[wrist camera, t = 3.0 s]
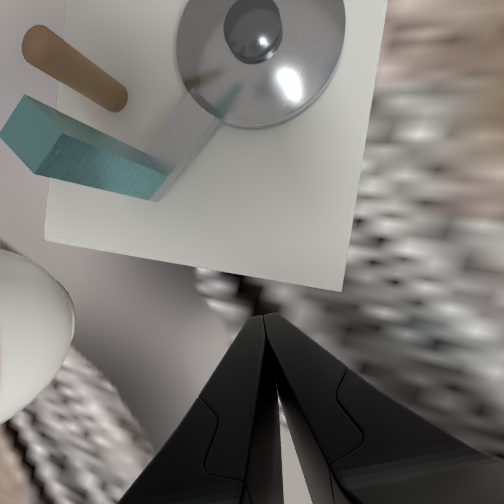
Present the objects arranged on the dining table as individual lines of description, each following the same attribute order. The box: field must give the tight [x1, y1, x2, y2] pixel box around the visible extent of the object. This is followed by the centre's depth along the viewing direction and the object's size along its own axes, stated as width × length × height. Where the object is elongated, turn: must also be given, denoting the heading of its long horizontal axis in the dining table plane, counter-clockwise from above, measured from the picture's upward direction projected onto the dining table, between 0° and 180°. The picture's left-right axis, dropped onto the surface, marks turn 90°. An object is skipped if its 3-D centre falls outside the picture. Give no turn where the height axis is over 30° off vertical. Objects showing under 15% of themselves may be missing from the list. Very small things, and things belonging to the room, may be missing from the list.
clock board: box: [22, 0, 388, 292], centre depth 18 cm, size 22×22×7 cm
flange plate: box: [0, 0, 346, 202], centre depth 15 cm, size 16×10×9 cm, turn 137°
